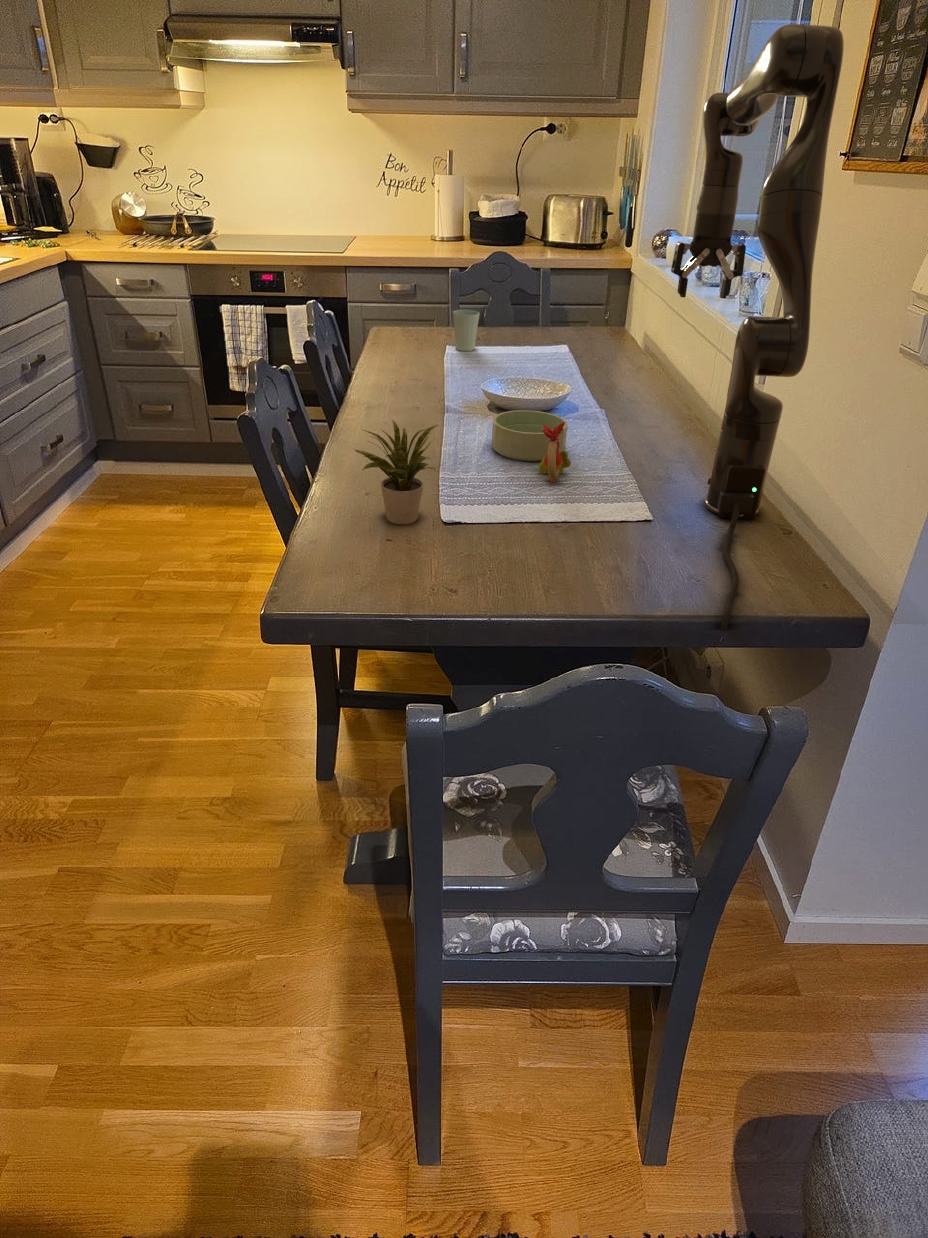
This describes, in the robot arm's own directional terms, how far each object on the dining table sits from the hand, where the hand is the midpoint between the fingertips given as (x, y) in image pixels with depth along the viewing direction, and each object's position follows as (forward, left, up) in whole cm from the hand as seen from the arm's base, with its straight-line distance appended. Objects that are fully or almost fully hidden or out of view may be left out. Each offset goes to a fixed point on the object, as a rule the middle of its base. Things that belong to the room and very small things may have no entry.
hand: (702, 297), depth 174 cm
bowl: (-19, +34, -29) cm, 48 cm away
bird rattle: (-34, +29, -29) cm, 53 cm away
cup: (+66, +53, -29) cm, 90 cm away
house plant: (-56, +55, -29) cm, 84 cm away
